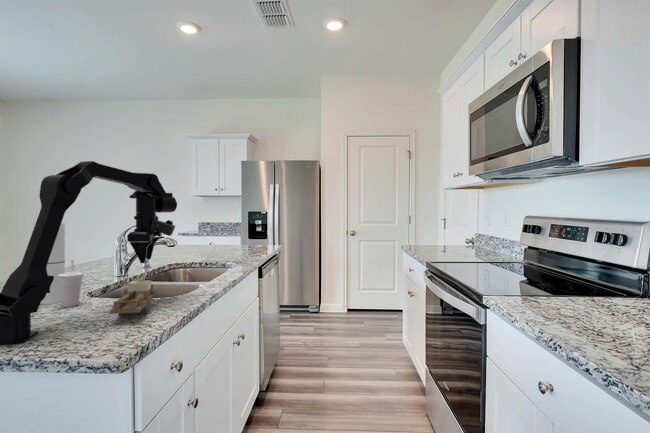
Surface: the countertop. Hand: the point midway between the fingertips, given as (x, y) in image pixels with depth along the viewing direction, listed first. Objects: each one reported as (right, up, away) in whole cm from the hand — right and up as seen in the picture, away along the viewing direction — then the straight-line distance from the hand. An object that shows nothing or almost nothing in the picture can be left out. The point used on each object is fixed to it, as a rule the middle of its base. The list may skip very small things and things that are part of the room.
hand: (146, 261), depth 111 cm
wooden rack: (+3, -14, -12) cm, 18 cm away
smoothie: (-20, -13, -5) cm, 25 cm away
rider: (+2, -9, -7) cm, 12 cm away
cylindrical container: (-30, -13, -2) cm, 32 cm away
